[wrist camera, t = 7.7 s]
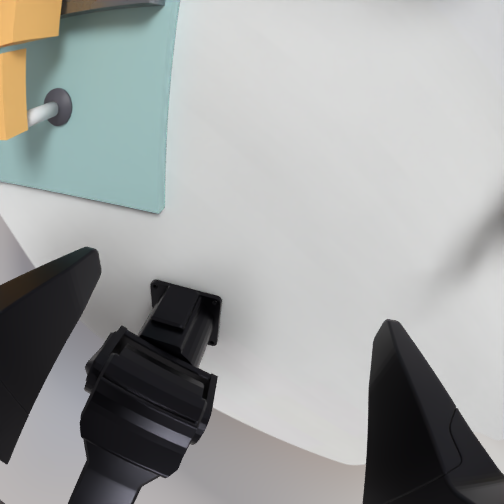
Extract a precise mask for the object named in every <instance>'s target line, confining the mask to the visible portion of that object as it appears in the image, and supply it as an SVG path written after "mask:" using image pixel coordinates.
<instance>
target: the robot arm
mask: <svg viewBox="0 0 504 504" xmlns="http://www.w3.org/2000/svg"><path fill="white" fill-rule="evenodd" d="M100 275H101V265H100V259H99V254H98V251H97V250H96V249H94V248H90V247H84V248H81V249H79V250H77V251H74V252H72V253H70V254H67V255H65V256H63V257H60V258H58V259H56V260H54V261H51V262H49V263H47V264H45V265H42V266H40V267H38V268H36V269H34V270H31V271H29V272H27V273H25V274H23V275H21V276H18V277H17V278H14V279H12V280H10V281H8V282H6V283H4V284H2V285H0V460H1V461H2V462H4V463H5V464H8V462H9V460H10V458H11V455H12V452H13V450H14V448H15V445H16V443H17V441H18V438H19V436H20V434H21V431H22V429H23V427H24V424H25V422H26V420H27V418H28V416H29V413H30V411H31V409H32V407H33V405H34V403H35V400H36V398H37V396H38V394H39V392H40V390H41V388H42V386H43V384H44V382H45V380H46V378H47V376H48V374H49V373H50V371H51V369H52V367H53V365H54V363H55V361H56V359H57V357H58V356H59V354H60V352H61V350H62V348H63V346H64V344H65V343H66V341H67V339H68V337H69V336H70V334H71V332H72V330H73V329H74V327H75V325H76V324H77V322H78V320H79V318H80V317H81V315H82V313H83V311H84V309H85V307H86V305H87V303H88V300H89V298H90V296H91V294H92V292H93V290H94V288H95V286H96V284H97V282H98V280H99V278H100ZM156 285H157V286H156ZM151 296H152V307H153V310H152V311H151V313H150V315H149V316H148V318H147V320H146V322H145V323H144V325H143V327H142V329H141V330H140V332H139V334H138V336H137V335H135V334H133V333H132V332H130V331H128V330H127V328H125V327H124V326H121V327H120V328H119V330H118V331H117V332H116V331H115V332H114V333H110V335H109V336H108V338H107V340H106V341H105V343H104V345H103V346H102V347H101V348H100V349H99V350H98V351H97V352H96V354H95V355H94V356H93V357H92V358H91V359H90V360H89V361H88V362H87V364H86V366H85V369H86V372H87V378H86V381H87V382H86V385H85V388H84V389H85V391H87V392H88V393H90V396H89V398H88V400H87V403H86V405H85V407H84V409H83V411H82V413H81V420H80V432H81V437H82V438H83V439H84V445H85V451H86V457H87V461H86V463H85V465H84V467H83V470H82V472H81V474H80V477H79V479H78V481H77V484H76V486H75V488H74V490H73V493H72V495H71V497H70V500H69V502H68V504H134V502H135V500H136V498H137V495H138V493H139V491H140V489H141V487H142V486H144V485H145V484H147V483H149V482H151V481H153V480H154V479H156V478H158V477H159V476H161V477H163V478H167V477H169V476H170V475H171V474H173V473H174V472H175V471H176V470H178V468H179V465H180V463H181V460H182V458H183V456H184V454H185V452H186V450H187V448H188V446H189V444H191V445H194V444H195V443H197V441H198V440H199V439H200V437H201V436H202V434H203V433H204V431H205V429H206V426H207V424H208V422H209V419H210V416H211V412H212V407H213V401H214V395H215V389H216V384H217V378H218V376H216V375H214V374H209V373H207V372H205V371H203V370H201V369H199V368H198V367H199V365H200V362H201V359H202V357H203V354H204V351H205V349H206V346H207V344H208V345H211V346H215V345H216V344H217V341H218V334H219V324H220V315H221V307H222V299H221V298H220V297H219V296H216V295H212V294H208V293H204V292H200V291H197V290H193V289H189V288H185V287H182V286H178V285H174V284H171V283H167V282H163V281H160V280H153V281H152V283H151ZM215 301H217V302H215ZM0 504H5V503H4V502H2V501H1V500H0ZM363 504H504V474H503V473H501V471H500V470H499V469H498V468H497V466H496V465H495V463H494V462H493V460H492V459H491V458H490V456H489V455H488V453H487V452H486V450H485V449H484V448H483V446H482V445H481V443H480V442H479V441H478V439H477V438H476V436H475V435H474V433H473V432H472V430H471V429H470V427H469V426H468V424H467V423H466V421H465V420H464V418H463V416H462V415H461V413H460V412H459V410H458V408H456V405H455V404H454V402H453V401H452V399H451V397H450V396H449V394H448V393H447V391H446V390H445V388H444V386H443V385H442V383H441V382H440V380H439V379H438V377H437V376H436V374H435V373H434V371H433V370H432V368H431V367H430V365H429V364H428V362H427V361H426V359H425V358H424V356H423V355H422V353H421V352H420V351H419V349H418V348H417V346H416V345H415V343H414V342H413V340H412V339H411V338H410V336H409V335H408V333H407V332H406V330H405V329H404V328H403V326H402V325H401V323H400V322H399V321H396V320H390V319H386V320H385V321H384V322H383V324H382V326H381V327H380V329H379V331H378V333H377V334H376V336H375V338H374V341H373V349H372V361H371V370H370V380H369V397H368V438H367V457H366V472H365V484H364V495H363Z"/></svg>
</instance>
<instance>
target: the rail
mask: <svg viewBox="0 0 504 504" xmlns="http://www.w3.org/2000/svg"><path fill="white" fill-rule="evenodd" d="M152 6H165V0H62V5H61V14H60V19H62V18H67V17H72V16H77V15H83V14H89V13H95V12H102V11H109V10H117V9H127V8H138V7H152Z"/></svg>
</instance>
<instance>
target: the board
mask: <svg viewBox="0 0 504 504" xmlns="http://www.w3.org/2000/svg"><path fill="white" fill-rule="evenodd" d="M179 3H180V0H165V6H152V7H138V8H127V9H117V10H109V11H102V12H95V13H89V14H83V15H77V16H72V17H67V18H62V19H60V24H59V36H55V37H50V38H45V39H40V40H36V41H31V42H27V43H23V44H18V45H12V46H7V47H2V48H0V54H1V53H5V52H10V51H15V50H20V49H25V48H26V104H27V110H30V109H32V108H35V107H38V106H40V105H43V104H46V103H49V102H52V101H54V102H56V103H57V105H58V114H57V115H56V116H54V117H52V118H49V119H47V120H44V121H42V122H40V123H37V124H35V125H33V126H31V127H28V130H27V131H25V132H23V133H21V134H19V135H17V136H14V137H12V138H10V139H8V140H0V181H2V182H7V183H12V184H17V185H22V186H27V187H32V188H37V189H43V190H48V191H52V192H57V193H62V194H67V195H72V196H77V197H82V198H87V199H92V200H96V201H101V202H106V203H111V204H116V205H120V206H125V207H130V208H134V209H139V210H144V211H148V212H153V213H158V214H159V213H160V212H161V211H162V210H163V209H164V208H165V162H166V138H167V120H168V105H169V92H170V80H171V69H172V59H173V50H174V41H175V33H176V25H177V17H178V10H179Z"/></svg>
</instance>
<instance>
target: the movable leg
mask: <svg viewBox="0 0 504 504" xmlns="http://www.w3.org/2000/svg"><path fill="white" fill-rule="evenodd" d="M61 5H62V0H0V48H2V47H7V46H12V45H18V44H23V43H27V42H31V41H36V40H40V39H45V38H50V37H55V36H59V24H60V14H61ZM57 114H58V105H57V103H56V102H54V101H52V102H49V103H46V104H43V105H40V106H38V107H35V108H32V109H30V110H27V104H26V48H25V49H20V50H15V51H10V52H5V53H1V54H0V140H8V139H10V138H12V137H14V136H17V135H19V134H21V133H23V132H25V131H27V130H28V127H31V126H33V125H35V124H37V123H40V122H42V121H44V120H47V119H49V118H52V117H54V116H56V115H57Z"/></svg>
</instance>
